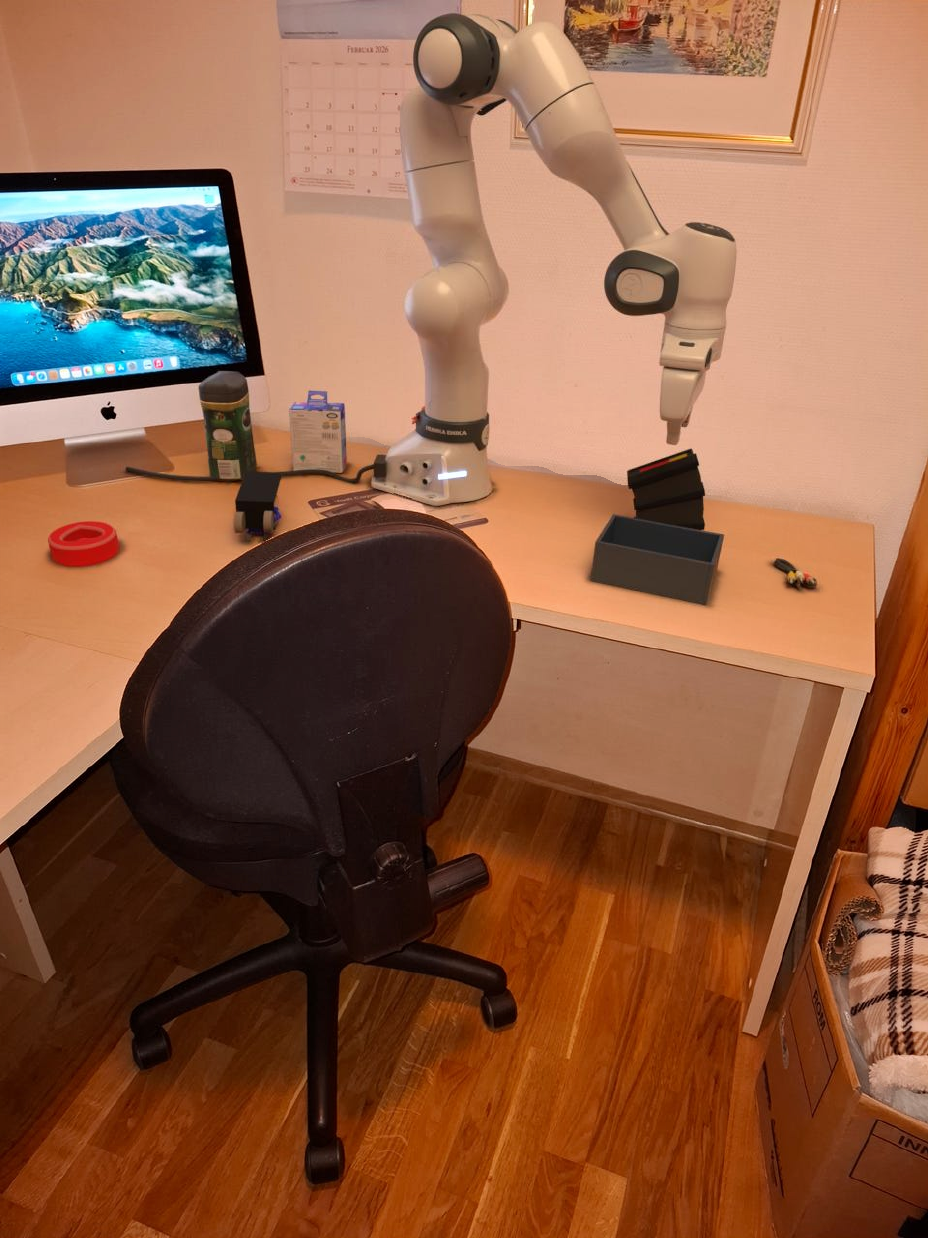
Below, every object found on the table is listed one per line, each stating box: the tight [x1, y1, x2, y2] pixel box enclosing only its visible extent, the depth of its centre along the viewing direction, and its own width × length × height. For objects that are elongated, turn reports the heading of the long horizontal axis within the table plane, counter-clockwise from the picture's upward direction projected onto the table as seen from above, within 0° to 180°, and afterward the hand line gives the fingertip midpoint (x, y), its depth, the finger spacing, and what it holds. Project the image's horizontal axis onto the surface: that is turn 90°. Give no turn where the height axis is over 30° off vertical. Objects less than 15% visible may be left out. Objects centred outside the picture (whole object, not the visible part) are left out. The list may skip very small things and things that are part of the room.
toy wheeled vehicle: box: [233, 470, 283, 542], centre depth 138 cm, size 7×8×15 cm
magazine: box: [626, 448, 706, 531], centre depth 139 cm, size 4×13×15 cm, turn 82°
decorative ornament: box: [47, 520, 120, 567], centre depth 129 cm, size 10×10×3 cm
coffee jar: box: [198, 370, 257, 483], centre depth 155 cm, size 10×8×19 cm
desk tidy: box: [590, 513, 725, 606], centre depth 128 cm, size 17×11×6 cm, turn 68°
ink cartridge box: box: [288, 390, 348, 474], centre depth 160 cm, size 10×6×14 cm, turn 89°
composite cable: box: [773, 557, 818, 590], centre depth 130 cm, size 10×5×2 cm, turn 177°
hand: (677, 434), depth 133 cm, fingers open, 8 cm apart
